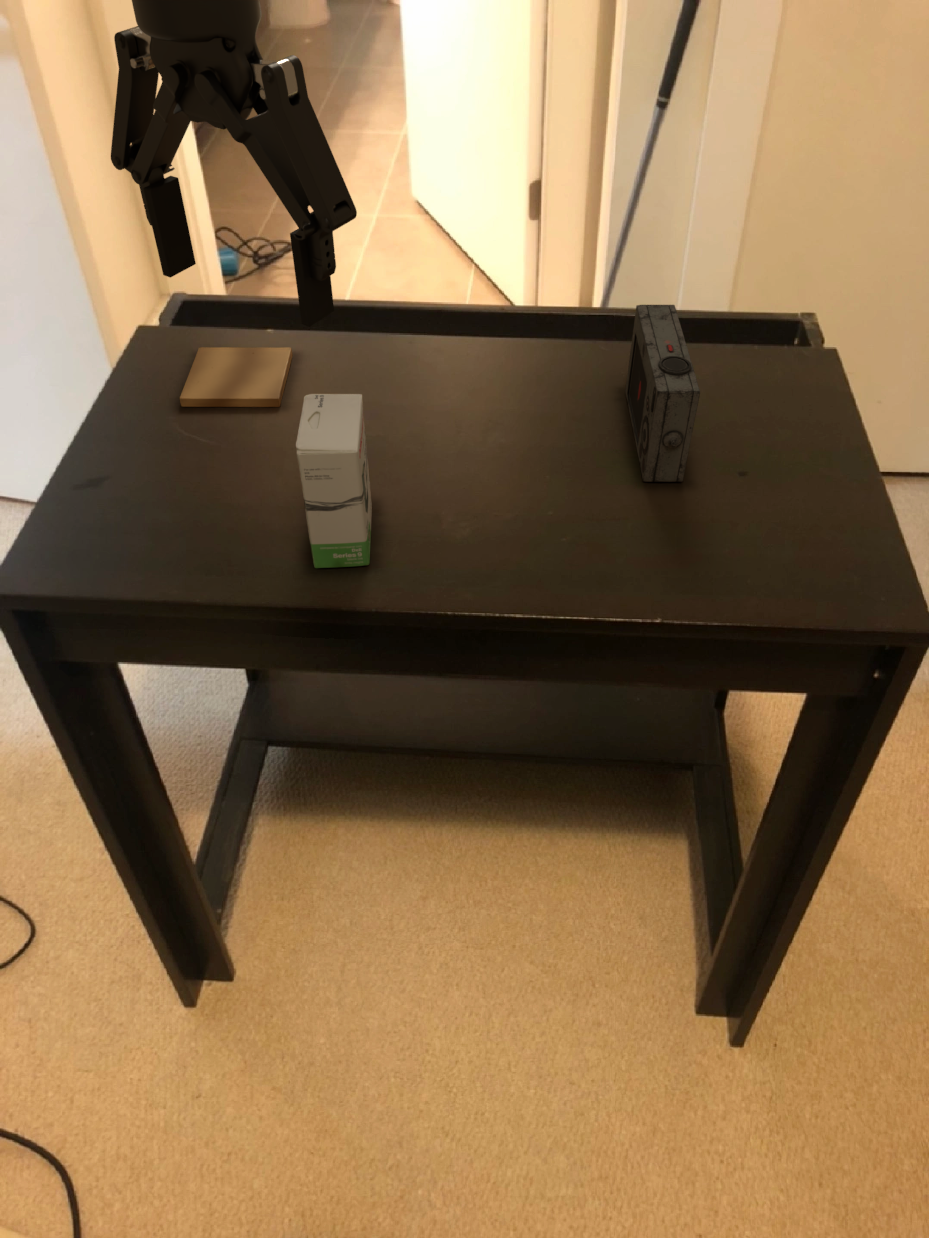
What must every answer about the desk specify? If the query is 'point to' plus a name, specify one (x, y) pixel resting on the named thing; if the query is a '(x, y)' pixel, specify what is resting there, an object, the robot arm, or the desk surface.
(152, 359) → the desk surface
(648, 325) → the camera
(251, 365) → the cork mat
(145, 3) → the robot arm
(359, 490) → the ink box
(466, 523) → the desk surface
